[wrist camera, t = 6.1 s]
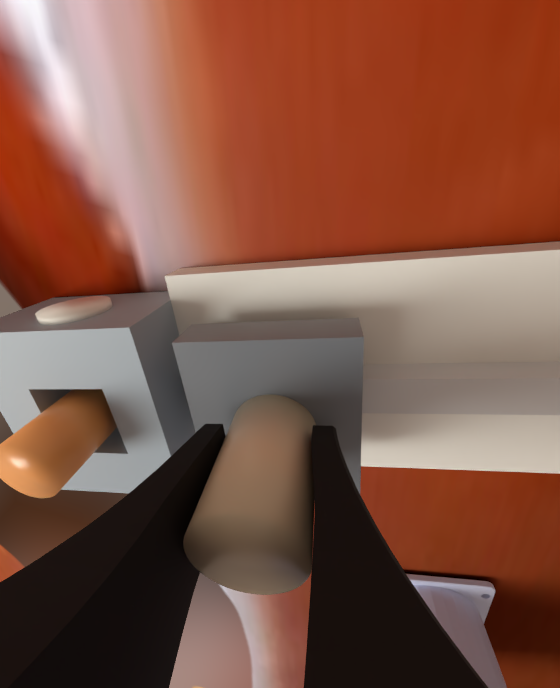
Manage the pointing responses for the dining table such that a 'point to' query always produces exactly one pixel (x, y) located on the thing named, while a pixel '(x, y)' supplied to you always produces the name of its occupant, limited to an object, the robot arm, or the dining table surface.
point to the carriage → (267, 440)
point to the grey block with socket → (101, 378)
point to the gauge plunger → (56, 443)
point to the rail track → (422, 345)
